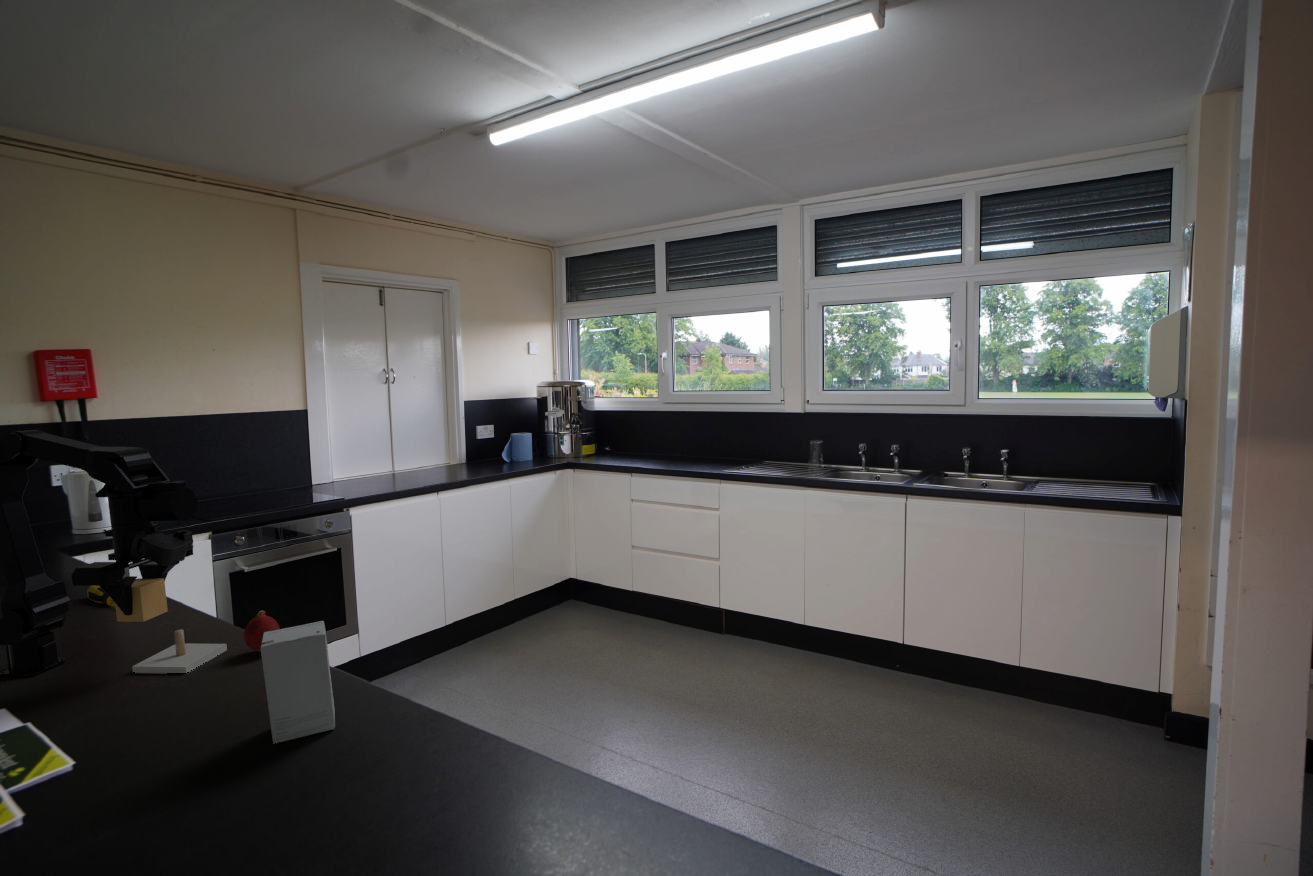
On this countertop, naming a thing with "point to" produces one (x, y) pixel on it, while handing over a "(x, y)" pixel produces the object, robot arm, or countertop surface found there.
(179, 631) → the post plate
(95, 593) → the screwdriver
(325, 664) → the skincare box
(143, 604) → the cardboard carton
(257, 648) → the onion
